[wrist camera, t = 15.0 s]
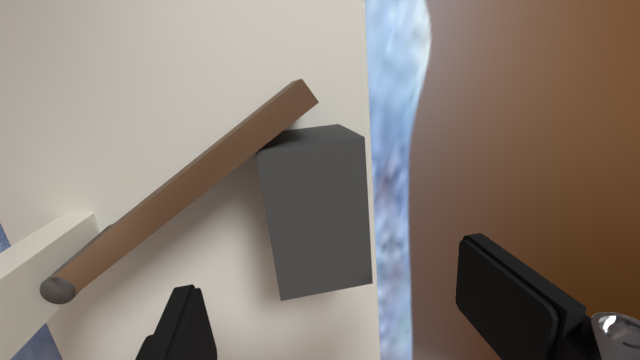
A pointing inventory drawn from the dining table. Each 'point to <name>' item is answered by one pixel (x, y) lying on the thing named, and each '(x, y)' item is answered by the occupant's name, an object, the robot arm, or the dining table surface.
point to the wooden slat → (178, 192)
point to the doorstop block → (317, 209)
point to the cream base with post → (167, 167)
